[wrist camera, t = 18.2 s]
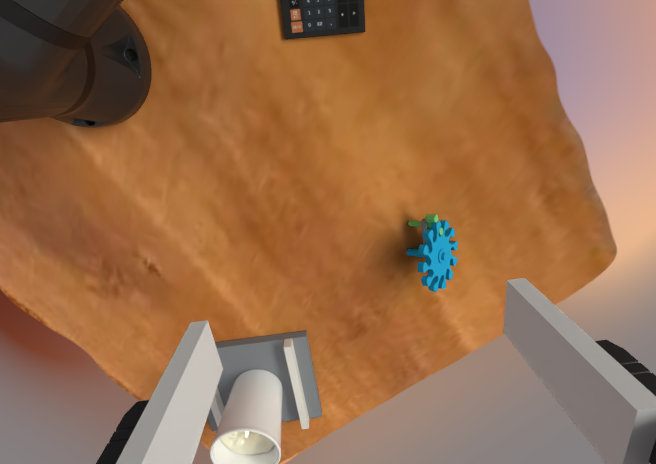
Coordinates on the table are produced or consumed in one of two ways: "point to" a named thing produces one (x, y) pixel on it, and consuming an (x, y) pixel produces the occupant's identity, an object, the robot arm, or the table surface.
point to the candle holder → (250, 421)
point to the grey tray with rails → (278, 358)
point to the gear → (435, 251)
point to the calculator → (322, 17)
